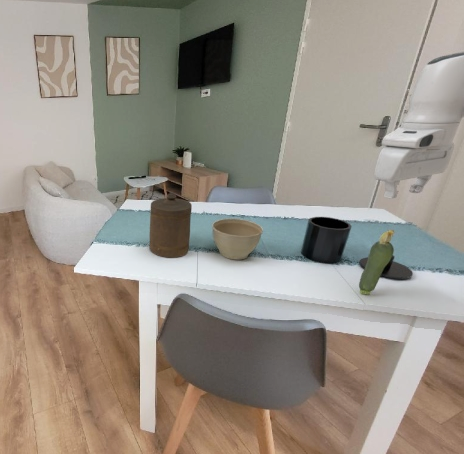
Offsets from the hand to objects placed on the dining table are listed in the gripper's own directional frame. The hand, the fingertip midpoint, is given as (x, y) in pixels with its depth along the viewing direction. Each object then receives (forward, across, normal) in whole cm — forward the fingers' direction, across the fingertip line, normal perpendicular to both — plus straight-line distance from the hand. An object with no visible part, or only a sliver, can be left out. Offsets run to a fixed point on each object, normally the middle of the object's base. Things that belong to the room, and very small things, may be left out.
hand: (402, 195), depth 70 cm
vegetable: (+29, 0, 0) cm, 29 cm away
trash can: (+29, -9, -20) cm, 36 cm away
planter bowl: (+29, +17, -33) cm, 47 cm away
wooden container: (+29, +36, -46) cm, 65 cm away
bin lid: (+28, -18, -6) cm, 34 cm away
